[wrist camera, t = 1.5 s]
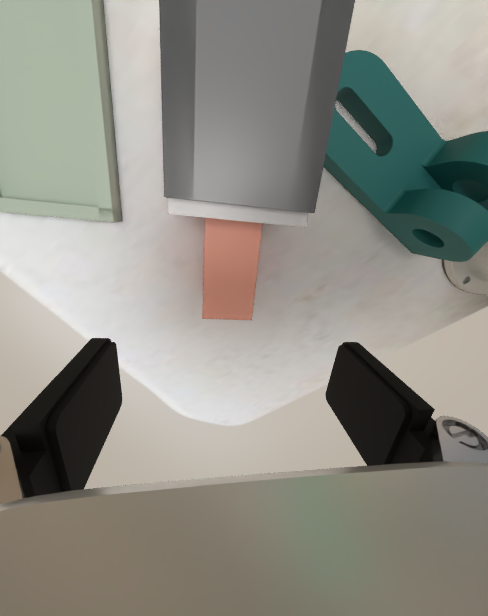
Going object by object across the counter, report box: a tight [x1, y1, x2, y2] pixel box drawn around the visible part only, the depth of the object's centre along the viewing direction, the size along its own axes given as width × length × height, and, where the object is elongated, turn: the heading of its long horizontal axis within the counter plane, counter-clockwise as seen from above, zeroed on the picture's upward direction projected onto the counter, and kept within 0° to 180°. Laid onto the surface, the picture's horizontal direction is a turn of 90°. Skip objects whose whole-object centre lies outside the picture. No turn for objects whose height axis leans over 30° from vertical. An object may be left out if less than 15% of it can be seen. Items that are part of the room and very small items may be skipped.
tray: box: [0, 0, 122, 222], centre depth 15 cm, size 9×20×2 cm, turn 175°
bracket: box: [323, 50, 488, 262], centre depth 18 cm, size 18×7×8 cm, turn 54°
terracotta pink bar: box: [202, 218, 263, 320], centre depth 19 cm, size 4×16×6 cm, turn 175°
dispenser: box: [159, 0, 355, 228], centre depth 15 cm, size 11×8×10 cm
